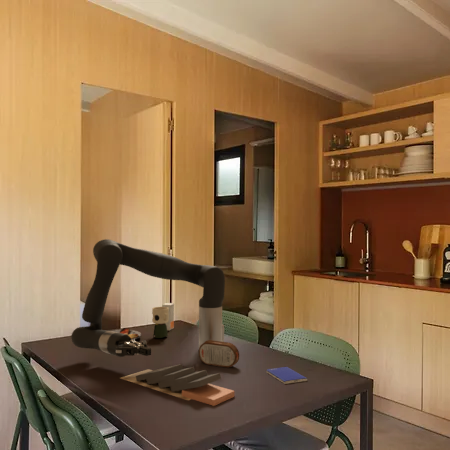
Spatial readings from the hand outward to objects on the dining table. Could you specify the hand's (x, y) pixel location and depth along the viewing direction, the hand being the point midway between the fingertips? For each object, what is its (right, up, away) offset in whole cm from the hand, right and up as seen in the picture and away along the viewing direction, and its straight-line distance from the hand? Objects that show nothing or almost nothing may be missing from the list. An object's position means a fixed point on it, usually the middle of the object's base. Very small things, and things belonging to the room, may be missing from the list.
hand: (149, 352), depth 149 cm
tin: (+22, -9, +16) cm, 29 cm away
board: (+6, -9, -5) cm, 12 cm away
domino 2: (+3, -7, -2) cm, 8 cm away
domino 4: (+11, -7, -9) cm, 16 cm away
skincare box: (-3, -9, +74) cm, 75 cm away
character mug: (-4, -9, +57) cm, 58 cm away
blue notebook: (+44, -10, +5) cm, 45 cm away
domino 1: (-1, -7, +1) cm, 7 cm away
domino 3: (+7, -7, -6) cm, 12 cm away
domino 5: (+15, -7, -12) cm, 20 cm away
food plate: (-25, -9, +53) cm, 59 cm away
